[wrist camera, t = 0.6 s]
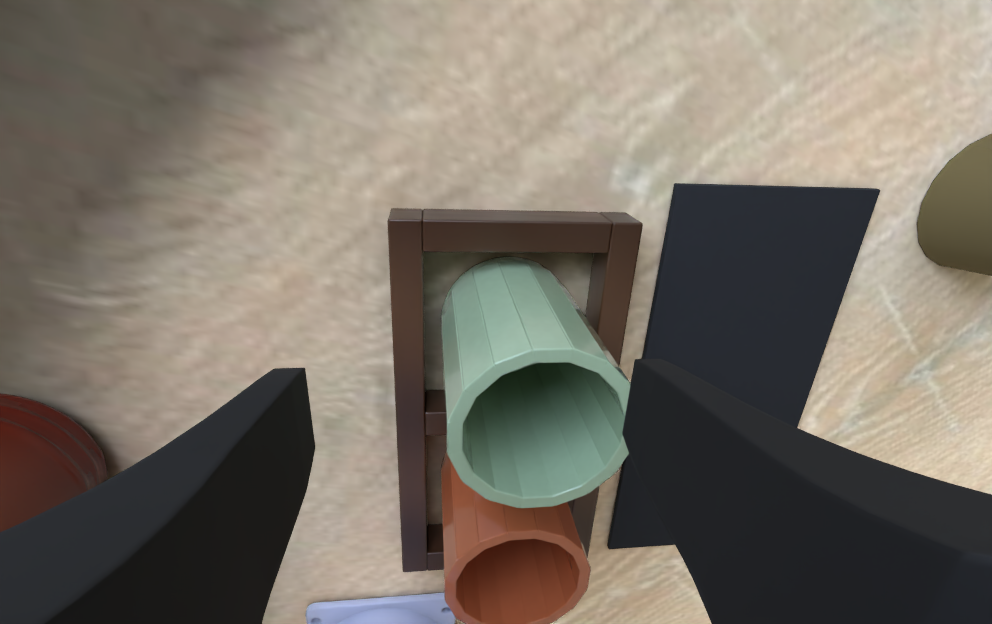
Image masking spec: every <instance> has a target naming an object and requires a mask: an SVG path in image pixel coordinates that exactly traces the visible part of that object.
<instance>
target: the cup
mask: <svg viewBox="0 0 992 624" xmlns="http://www.w3.org/2000/svg"><path fill="white" fill-rule="evenodd" d="M441 341H442V362H443V383H444V403H445V424H446V445H447V453H448V456H449V458H450V460H451V462H452V464H453V466H454V468H455V470H456V472H457V474H458V475H459V477H460V479H461V480H462V482H463V483H465V484H466V485H468V486H469V487H470V488H472V489H473V490H474V491H476V492H477V493H478V494H480V495H481V496H482V497H484V498H485V499H488V500H489V501H493V502H497V503H501V504H504V505H508V506H512V507H516V508H536V507H553V506H554V505H555V506H557V505H560V504H562V503H565V502H568V501H571V500H573V499H576V498H579V497H582V496H584V495H587V493H590V492H591V491H593V490H594V489H595V488H597V487H598V486H599V485H601V484H602V483H603V482H605V481H606V480H607V479H609V478H610V477H611V476H613V475H614V474H615V473H616V472H617V471H618V469H619V468H620V466H621V465H622V463H623V462H624V460H625V459H626V457H627V456H628V454H629V452H628V449H627V446H626V443H625V440H624V437H623V435H622V431H623V426H624V420H625V414H626V408H627V402H628V397H629V391H630V385H631V384H630V382H629V381H628V379H627V378H626V376H625V375H624V373H623V372H622V370H621V369H620V367H619V366H618V364H617V363H616V361H615V360H614V358H613V357H612V356H611V354H610V353H609V351H608V350H607V348H606V347H605V345H604V344H603V342H602V341H601V339H600V338H599V336H598V335H597V333H596V332H595V330H594V329H593V327H592V326H591V324H590V323H589V322H588V320H587V319H586V317H585V316H584V314H583V313H582V311H581V310H580V308H579V307H578V305H577V304H576V302H575V301H574V299H573V298H572V296H571V295H570V293H569V292H568V290H567V289H566V288H565V287H564V285H563V284H562V283H561V282H560V281H559V279H558V278H557V277H556V276H555V275H554V274H553V273H552V272H551V271H550V270H548V269H547V268H546V267H544V266H543V265H541V264H539V263H537V262H534V261H531V260H528V259H524V258H519V257H500V258H494V259H490V260H487V261H484V262H482V263H480V264H477V265H475V266H474V267H472V268H471V269H469V270H467V271H466V272H465V273H464V274H463V275H461V276H460V277H459V278H458V279H457V281H456V282H455V283H454V284H453V286H452V287H451V288H450V290H449V292H448V294H447V296H446V298H445V301H444V303H443V308H442V313H441Z"/></svg>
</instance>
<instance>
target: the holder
mask: <svg viewBox="0 0 992 624" xmlns="http://www.w3.org/2000/svg"><path fill="white" fill-rule="evenodd" d="M642 226H643V225H642V223H641V222H639V221H638V220H636V219H635V218H633V217H632V216H630V215H629V214H627V213H617V212H600V213H598V212H564V211H508V210H453V209H424V210H422V209H398V208H393V209H391V212H390V215H389V218H388V239H389V262H390V286H391V309H392V332H393V355H394V378H395V402H396V425H397V448H398V471H399V494H400V518H401V541H402V564H403V572H414V571H426V570H427V569H428V570H443V569H444V566H443V533H442V524H436V525H428V526H427V473H426V435H427V436H430V435H446V424H445V403H444V390H426V392H425V334H424V264H423V251H424V252H524V253H594V255H593V262H592V270H591V278H590V286H589V294H588V301H587V309H586V319H587V320H588V322H589V323H590V324H591V326H592V327H593V329H594V330H595V332H596V333H597V335H598V336H599V338H600V339H601V341H602V342H603V344H604V345H605V347H606V348H607V350H608V351H609V353H610V354H611V356H612V357H613V358H614V360H615V361H616V363H617V364H618V366H619V364H620V358H621V352H622V346H623V340H624V334H625V328H626V322H627V316H628V310H629V304H630V298H631V292H632V286H633V280H634V274H635V268H636V262H637V256H638V250H639V244H640V238H641V232H642ZM598 491H599V486H598V487H597V488H595V489H594V490H593V491H591V492H590V493H587V495H584V496H582V497H579V498H576V499H573V500H571V501H568V502H569V505H570V508H571V511H572V514H573V517H574V520H575V523H576V526H577V529H578V532H579V535H580V538H581V541H582V544H583V547H584V550H585V553H586V555H587V558H588V552H589V546H590V540H591V533H592V527H593V521H594V515H595V509H596V503H597V497H598Z"/></svg>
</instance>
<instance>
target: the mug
mask: <svg viewBox="0 0 992 624" xmlns="http://www.w3.org/2000/svg"><path fill="white" fill-rule="evenodd" d="M106 480H107V468H106V462H105V458H104V455H103V452H102V450H101V448H100V447H99V446H98V444H97V443H96V442H95V440H94V439H93V438H92V437H91V436H90V435H89V433H88V432H87V431H86V430H85V429H84V428H83V427H81V426H80V425H79V424H78V423H77V422H75V421H74V420H73V419H71V418H70V417H68V416H67V415H65V414H63V413H62V412H60V411H58V410H56V409H54V408H52V407H50V406H48V405H45V404H43V403H40V402H37V401H35V400H31V399H28V398H24V397H19V396H15V395H8V394H0V532H2V531H4V530H7V529H9V528H11V527H13V526H16V525H18V524H20V523H22V522H24V521H26V520H28V519H30V518H32V517H34V516H36V515H39V514H41V513H43V512H45V511H47V510H49V509H51V508H53V507H55V506H57V505H59V504H61V503H63V502H65V501H67V500H69V499H71V498H73V497H76V496H78V495H80V494H82V493H84V492H86V491H88V490H90V489H91V488H93V487H95V486H97V485H99V484H101V483H103V482H104V481H106Z"/></svg>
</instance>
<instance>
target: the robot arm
mask: <svg viewBox="0 0 992 624" xmlns="http://www.w3.org/2000/svg"><path fill="white" fill-rule="evenodd" d="M622 435H623V437H624V440H625V443H626V446H627V449H628V452H629V455H630V457H631V460H632V462H633V465H634V467H635V470H636V472H637V474H638V476H639V478H640V480H641V482H642V484H643V486H644V488H645V490H646V492H647V493H648V495H649V497H650V499H651V501H652V503H653V505H654V506H655V508H656V510H657V512H658V514H659V516H660V517H661V519H662V521H663V523H664V525H665V527H666V528H667V530H668V532H669V534H670V536H671V538H672V540H673V541H674V543H675V545H676V547H677V549H678V551H679V552H680V554H681V556H682V558H683V560H684V562H685V564H686V566H687V568H688V570H689V572H690V574H691V576H692V578H693V580H694V582H695V585H696V587H697V589H698V592H699V594H700V597H701V599H702V601H703V604H704V606H705V608H706V611H707V613H708V616H709V618H710V620H711V623H712V624H992V495H991V494H987V493H983V492H980V491H976V490H972V489H969V488H965V487H961V486H958V485H954V484H950V483H947V482H944V481H940V480H937V479H934V478H930V477H927V476H924V475H920V474H917V473H914V472H911V471H908V470H905V469H902V468H899V467H896V466H893V465H890V464H887V463H884V462H882V461H879V460H876V459H873V458H870V457H867V456H864V455H862V454H859V453H856V452H854V451H851V450H848V449H846V448H843V447H841V446H839V445H836V444H834V443H831V442H829V441H826V440H824V439H821V438H819V437H817V436H814V435H812V434H809V433H807V432H805V431H803V430H800V429H798V428H796V427H794V426H792V425H789V424H787V423H785V422H783V421H781V420H779V419H777V418H775V417H773V416H771V415H769V414H767V413H765V412H763V411H761V410H759V409H757V408H755V407H753V406H751V405H749V404H747V403H745V402H743V401H741V400H739V399H738V398H736V397H734V396H732V395H730V394H728V393H726V392H725V391H723V390H721V389H719V388H717V387H715V386H714V385H712V384H710V383H708V382H706V381H704V380H703V379H701V378H699V377H697V376H695V375H693V374H691V373H690V372H688V371H686V370H684V369H682V368H680V367H678V366H676V365H674V364H672V363H670V362H667V361H665V360H662V359H635V362H634V368H633V374H632V379H631V385H630V391H629V397H628V402H627V408H626V414H625V420H624V426H623V431H622ZM314 451H315V442H314V434H313V426H312V419H311V411H310V403H309V396H308V388H307V380H306V373H305V368H281V369H273V370H272V371H270V372H268V373H267V374H265V375H264V376H263V377H261V378H260V379H258V380H257V381H256V382H254V383H253V384H252V385H250V386H249V387H248V388H246V389H245V390H244V391H242V392H241V393H240V394H238V395H237V396H236V397H234V398H233V399H232V400H230V401H229V402H228V403H226V404H225V405H223V406H222V407H221V408H219V409H218V410H217V411H215V412H214V413H213V414H211V415H210V416H208V417H207V418H206V419H204V420H203V421H201V422H200V423H198V424H197V425H195V426H194V427H192V428H191V429H189V430H188V431H186V432H185V433H183V434H182V435H180V436H179V437H177V438H176V439H174V440H173V441H171V442H170V443H168V444H167V445H165V446H164V447H162V448H161V449H159V450H158V451H156V452H155V453H153V454H151V455H150V456H148V457H146V458H145V459H143V460H141V461H140V462H138V463H136V464H135V465H133V466H131V467H130V468H128V469H126V470H124V471H122V472H121V473H119V474H117V475H115V476H113V477H112V478H110V479H108V480H106V481H104V482H103V483H101V484H99V485H97V486H95V487H93V488H91V489H90V490H88V491H86V492H84V493H82V494H80V495H78V496H76V497H73V498H71V499H69V500H67V501H65V502H63V503H61V504H59V505H57V506H55V507H53V508H51V509H49V510H47V511H45V512H43V513H41V514H39V515H36V516H34V517H32V518H30V519H28V520H26V521H24V522H22V523H20V524H18V525H16V526H13V527H11V528H9V529H7V530H4V531H2V532H0V624H262V620H263V616H264V613H265V610H266V607H267V603H268V600H269V597H270V594H271V591H272V588H273V585H274V582H275V579H276V576H277V574H278V571H279V568H280V565H281V562H282V559H283V557H284V554H285V551H286V548H287V545H288V542H289V540H290V537H291V534H292V531H293V528H294V525H295V522H296V520H297V517H298V514H299V511H300V508H301V505H302V502H303V499H304V496H305V493H306V490H307V486H308V481H309V476H310V472H311V467H312V462H313V456H314ZM306 621H307V624H455V616H454V614H453V613H452V611H451V610H450V608H449V606H448V605H447V603H446V602H445V599H444V592H443V593H430V594H418V595H405V596H392V597H380V598H367V599H355V600H342V601H329V602H317V603H312V604H310V605H309V606H308V607H307V610H306Z"/></svg>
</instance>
